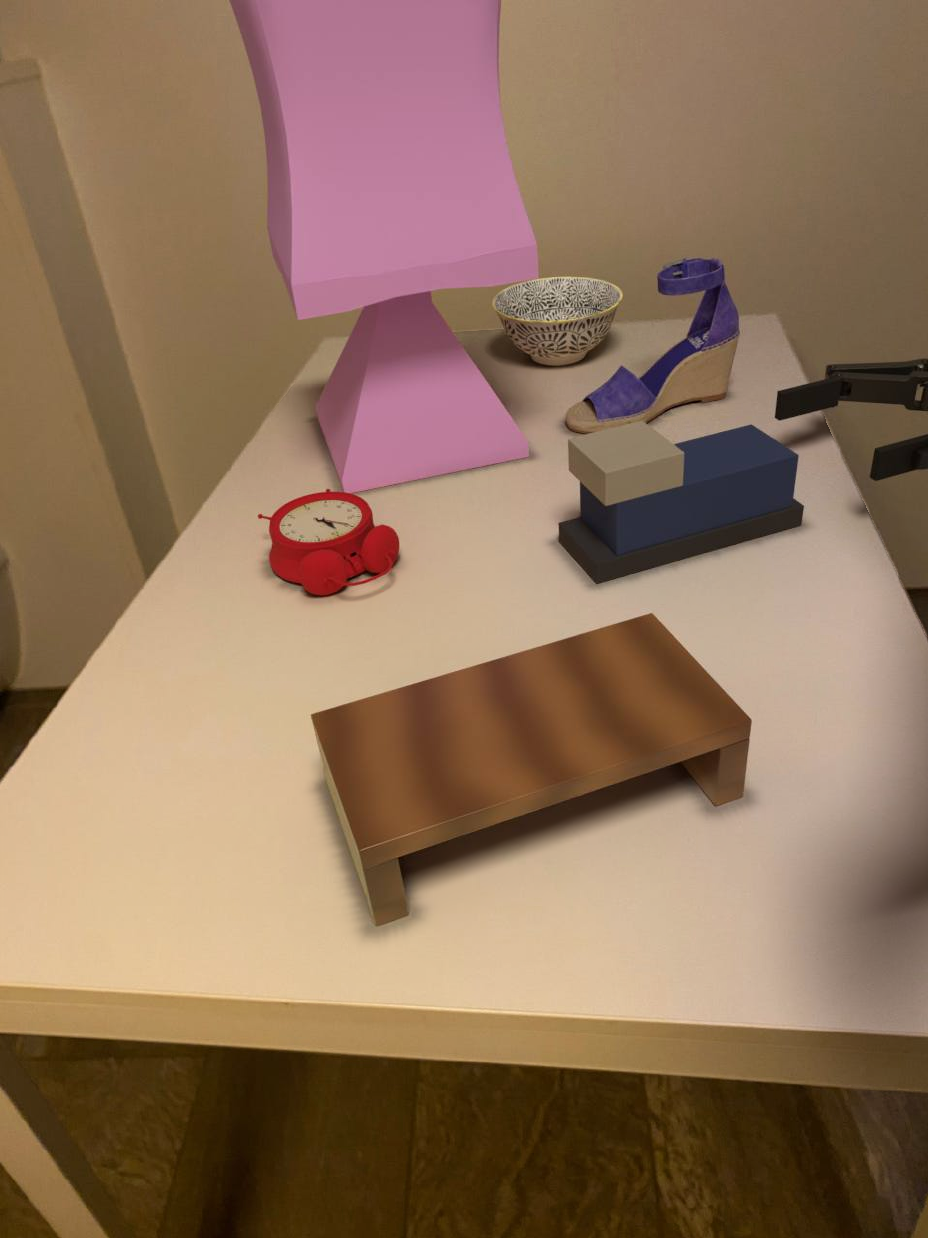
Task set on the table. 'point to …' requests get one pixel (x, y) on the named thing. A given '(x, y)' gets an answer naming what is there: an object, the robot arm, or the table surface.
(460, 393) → the pink table lamp
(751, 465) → the stacked block toy
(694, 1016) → the table surface
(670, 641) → the low wooden table
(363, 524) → the alarm clock
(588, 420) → the sandal
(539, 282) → the bowl
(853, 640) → the table surface
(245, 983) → the table surface
